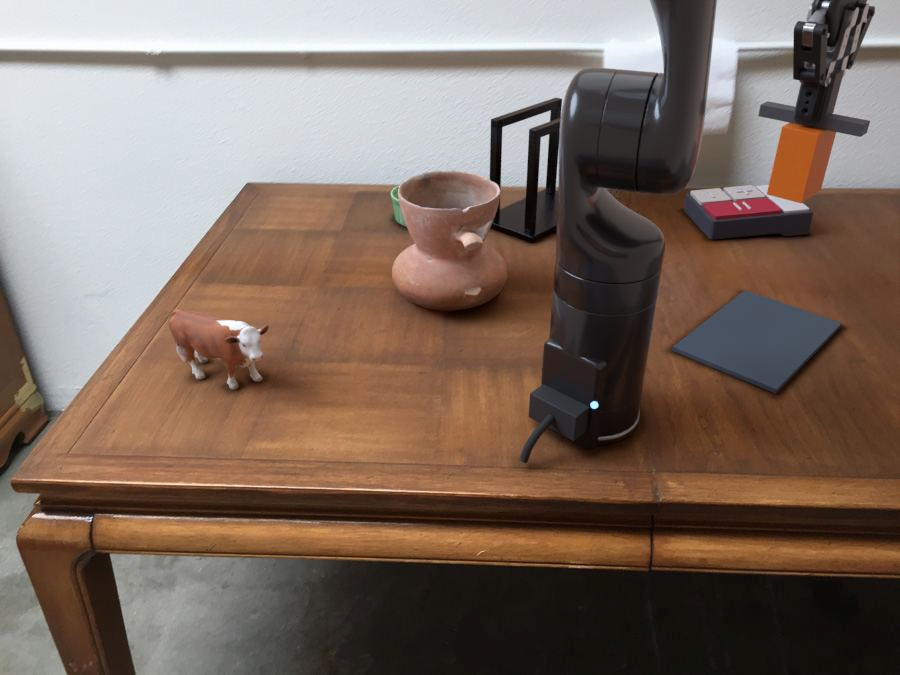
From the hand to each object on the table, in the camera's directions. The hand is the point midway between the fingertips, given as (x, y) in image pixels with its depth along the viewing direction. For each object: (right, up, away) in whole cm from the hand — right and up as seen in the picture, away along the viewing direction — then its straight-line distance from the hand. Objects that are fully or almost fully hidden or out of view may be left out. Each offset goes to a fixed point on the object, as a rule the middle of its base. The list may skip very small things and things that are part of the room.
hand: (811, 120), depth 75 cm
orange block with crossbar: (0, -6, +4) cm, 7 cm away
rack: (-21, -3, +44) cm, 49 cm away
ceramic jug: (-35, -16, +24) cm, 45 cm away
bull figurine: (-59, -26, +8) cm, 65 cm away
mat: (0, -21, +14) cm, 25 cm away
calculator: (+9, -4, +41) cm, 42 cm away
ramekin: (-40, -3, +43) cm, 59 cm away
